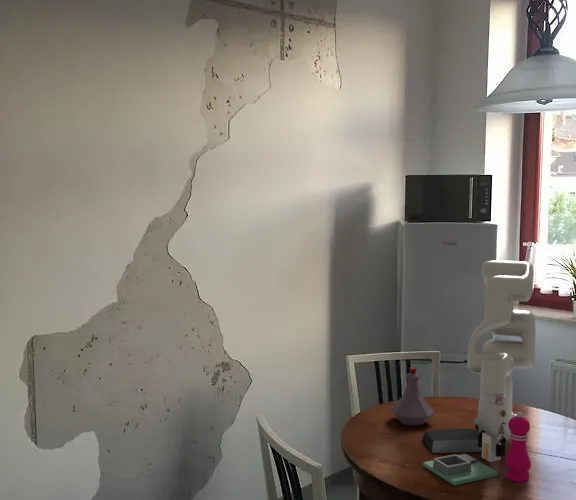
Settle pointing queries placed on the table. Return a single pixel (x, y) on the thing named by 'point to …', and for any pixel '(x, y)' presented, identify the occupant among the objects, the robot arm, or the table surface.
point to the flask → (412, 403)
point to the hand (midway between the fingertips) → (491, 451)
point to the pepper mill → (518, 449)
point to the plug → (489, 447)
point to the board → (459, 469)
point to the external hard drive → (452, 440)
